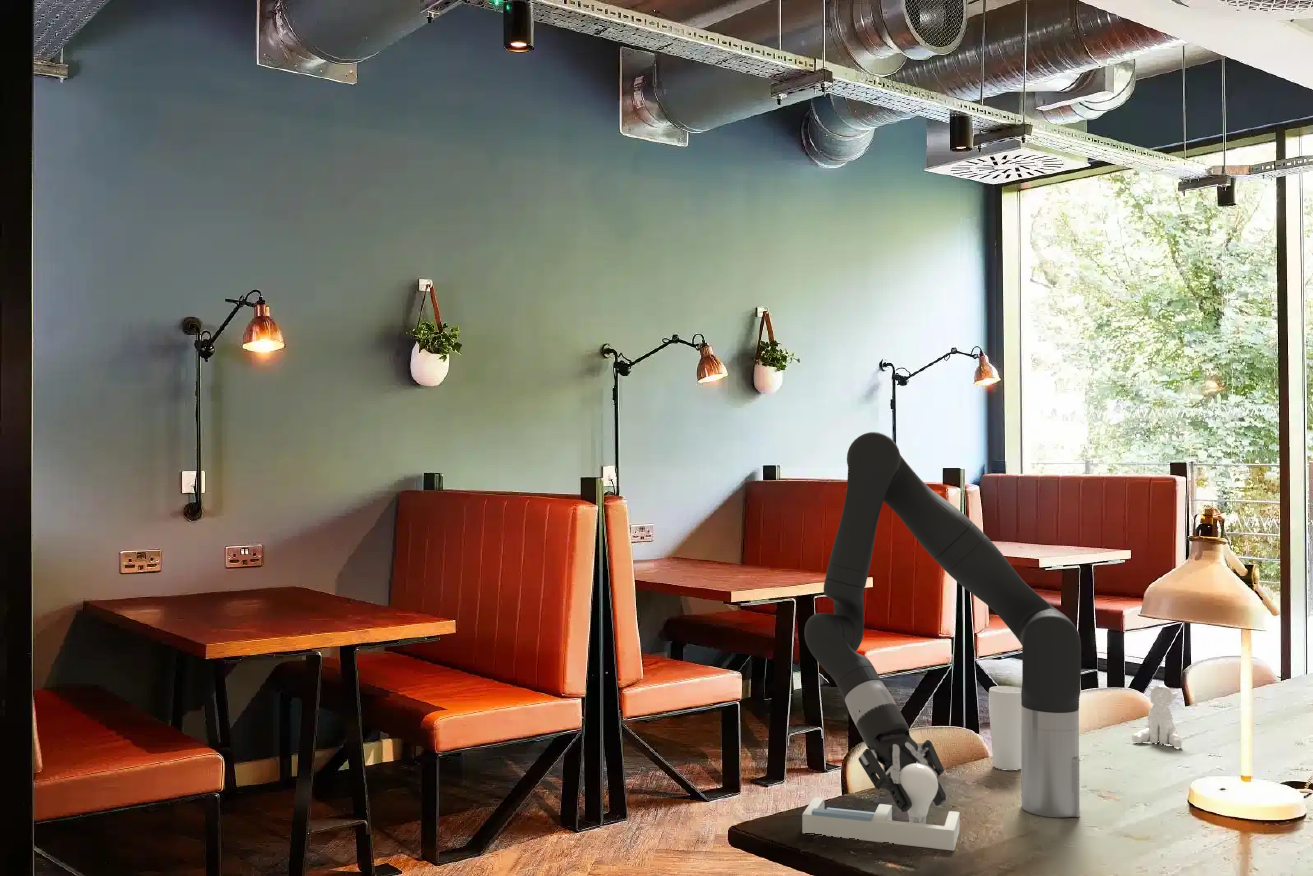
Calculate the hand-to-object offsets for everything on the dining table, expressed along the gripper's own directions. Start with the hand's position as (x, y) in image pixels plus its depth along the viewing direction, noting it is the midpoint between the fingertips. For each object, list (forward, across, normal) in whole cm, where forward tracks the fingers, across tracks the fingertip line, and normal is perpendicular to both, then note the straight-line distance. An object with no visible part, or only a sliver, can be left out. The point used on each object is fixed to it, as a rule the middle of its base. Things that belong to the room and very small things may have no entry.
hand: (924, 806), depth 179 cm
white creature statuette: (-13, +85, +20) cm, 88 cm away
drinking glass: (-13, +42, +20) cm, 48 cm away
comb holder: (-1, -3, +8) cm, 9 cm away
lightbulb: (+2, 0, +5) cm, 5 cm away
